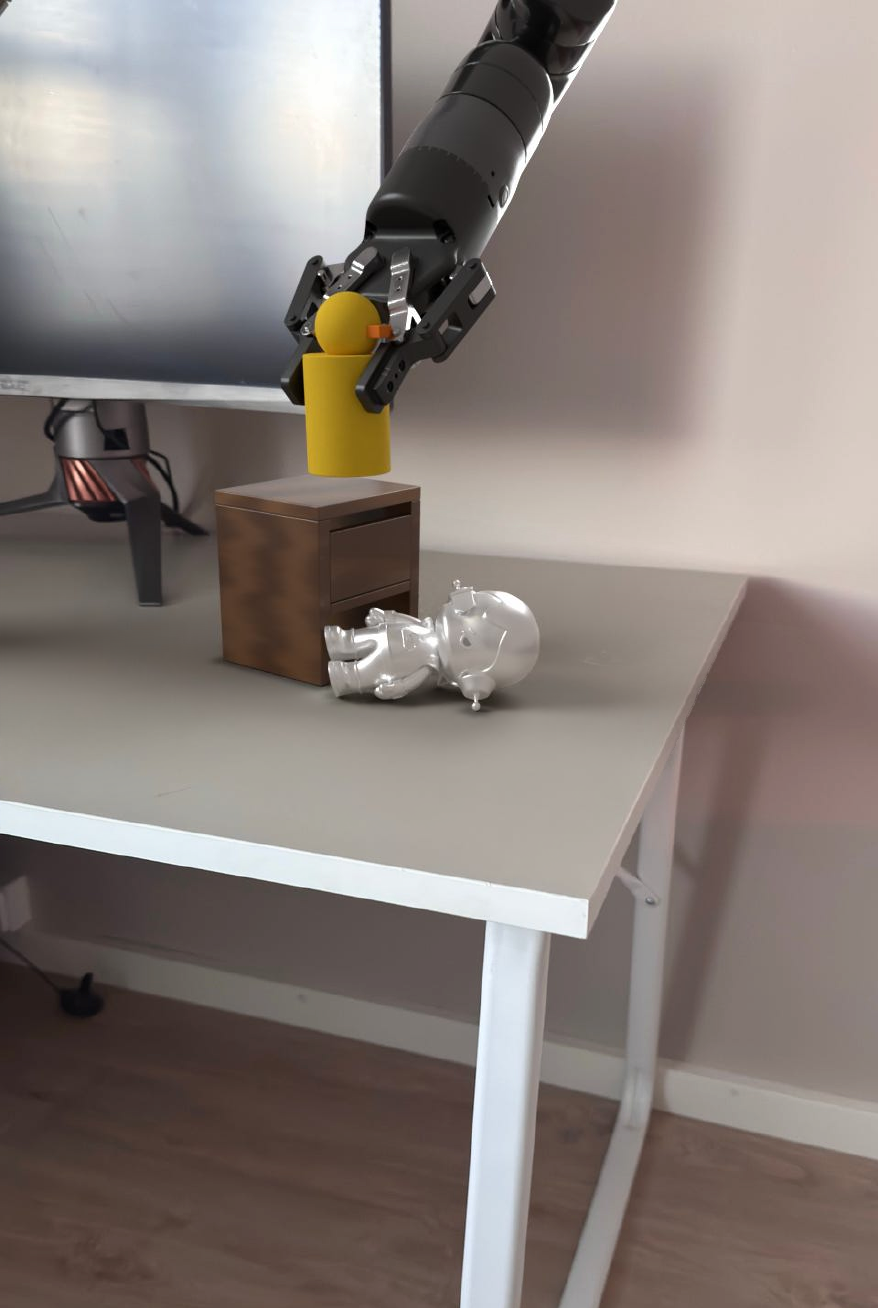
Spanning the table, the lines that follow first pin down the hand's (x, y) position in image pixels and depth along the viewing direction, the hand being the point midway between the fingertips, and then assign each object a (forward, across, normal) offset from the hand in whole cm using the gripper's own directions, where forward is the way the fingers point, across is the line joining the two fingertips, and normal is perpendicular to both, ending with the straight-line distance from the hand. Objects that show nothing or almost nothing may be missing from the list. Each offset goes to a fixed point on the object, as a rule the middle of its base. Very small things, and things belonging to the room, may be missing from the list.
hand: (328, 399), depth 71 cm
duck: (+2, 0, +4) cm, 5 cm away
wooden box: (+7, -10, +22) cm, 26 cm away
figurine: (+8, +2, +21) cm, 23 cm away
